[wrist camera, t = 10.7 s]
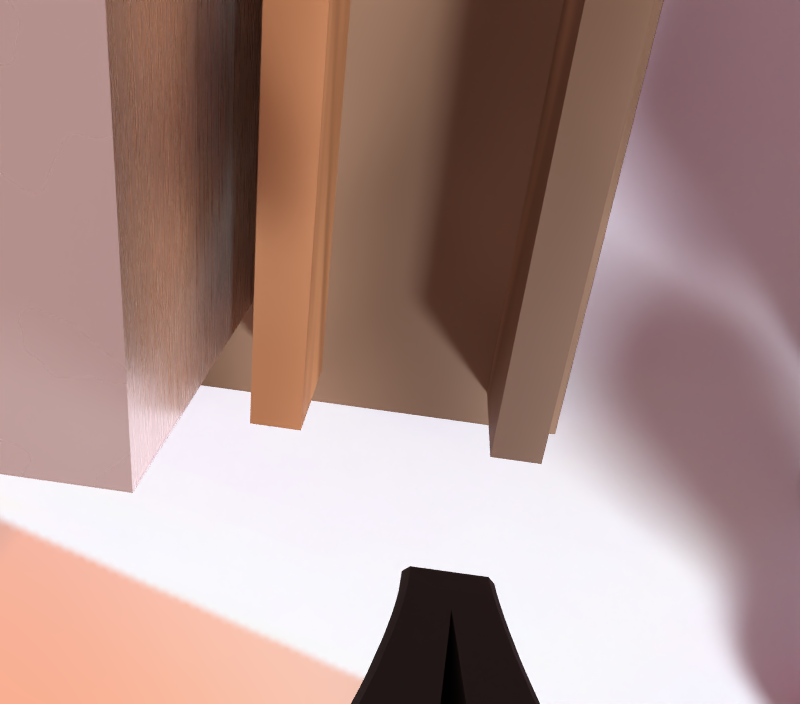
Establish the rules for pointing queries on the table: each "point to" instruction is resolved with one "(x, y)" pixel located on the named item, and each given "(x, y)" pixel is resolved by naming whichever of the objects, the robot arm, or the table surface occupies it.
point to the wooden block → (119, 223)
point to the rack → (433, 205)
